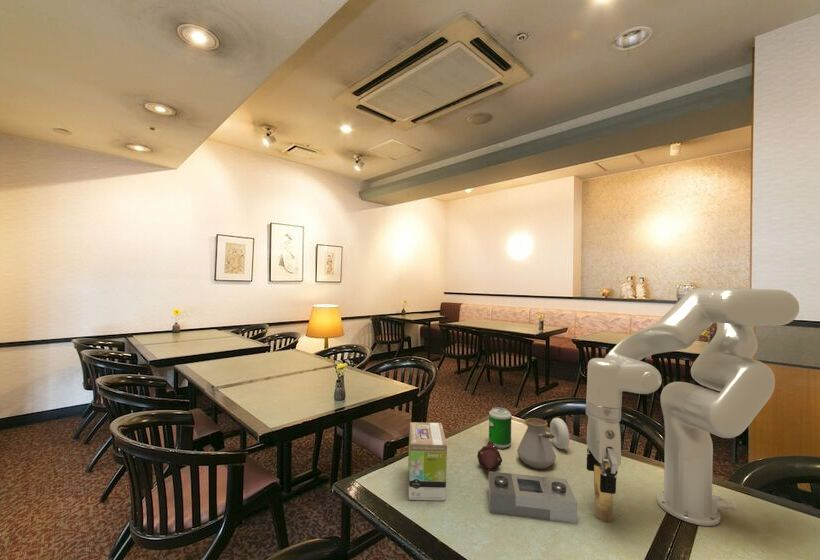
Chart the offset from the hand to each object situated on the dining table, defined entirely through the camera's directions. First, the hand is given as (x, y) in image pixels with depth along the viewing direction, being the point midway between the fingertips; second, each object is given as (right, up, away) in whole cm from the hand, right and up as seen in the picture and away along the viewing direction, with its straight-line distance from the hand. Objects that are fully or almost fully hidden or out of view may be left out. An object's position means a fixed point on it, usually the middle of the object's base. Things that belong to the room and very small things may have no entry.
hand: (600, 480), depth 87 cm
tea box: (-42, -9, +13) cm, 44 cm away
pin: (+1, -9, 0) cm, 9 cm away
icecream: (-22, -9, +22) cm, 32 cm away
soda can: (-15, -9, +37) cm, 41 cm away
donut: (+5, -9, +36) cm, 37 cm away
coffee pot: (-7, -9, +21) cm, 24 cm away
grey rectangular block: (-16, -9, +4) cm, 18 cm away
